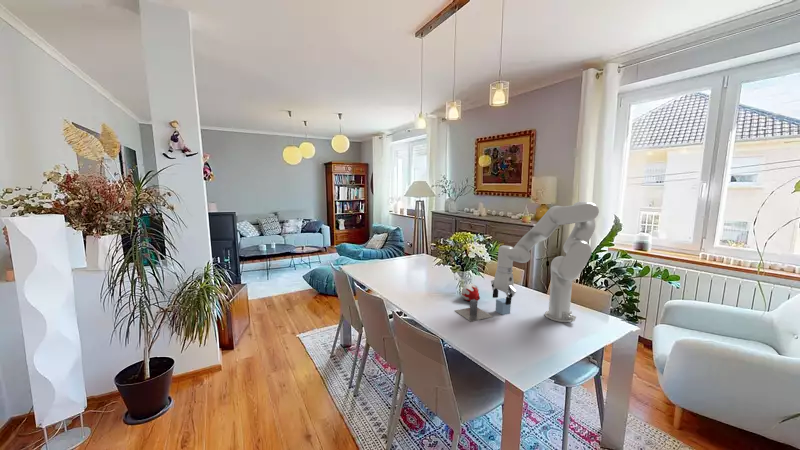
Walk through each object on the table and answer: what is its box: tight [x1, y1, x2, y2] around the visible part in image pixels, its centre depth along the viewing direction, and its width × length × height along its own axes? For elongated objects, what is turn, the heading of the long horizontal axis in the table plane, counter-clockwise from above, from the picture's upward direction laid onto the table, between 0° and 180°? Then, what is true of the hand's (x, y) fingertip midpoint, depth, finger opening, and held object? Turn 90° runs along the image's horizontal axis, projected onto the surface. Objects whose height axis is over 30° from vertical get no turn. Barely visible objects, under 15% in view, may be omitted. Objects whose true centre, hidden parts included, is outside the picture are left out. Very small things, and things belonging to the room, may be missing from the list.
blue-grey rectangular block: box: [495, 297, 512, 316], centre depth 161 cm, size 5×5×7 cm
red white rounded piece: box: [460, 283, 481, 302], centre depth 178 cm, size 9×11×15 cm
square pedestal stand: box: [454, 299, 494, 323], centre depth 158 cm, size 14×14×7 cm
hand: (501, 300), depth 161 cm, fingers open, 9 cm apart
